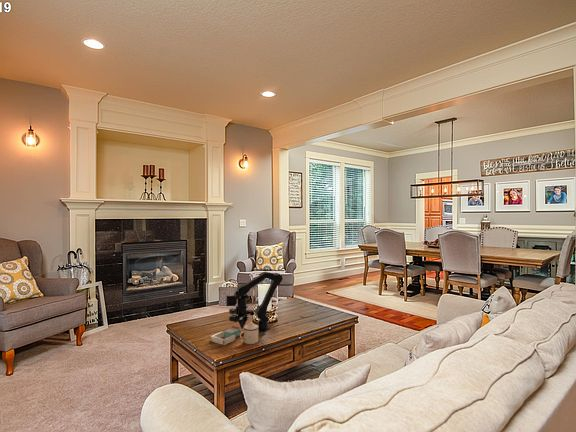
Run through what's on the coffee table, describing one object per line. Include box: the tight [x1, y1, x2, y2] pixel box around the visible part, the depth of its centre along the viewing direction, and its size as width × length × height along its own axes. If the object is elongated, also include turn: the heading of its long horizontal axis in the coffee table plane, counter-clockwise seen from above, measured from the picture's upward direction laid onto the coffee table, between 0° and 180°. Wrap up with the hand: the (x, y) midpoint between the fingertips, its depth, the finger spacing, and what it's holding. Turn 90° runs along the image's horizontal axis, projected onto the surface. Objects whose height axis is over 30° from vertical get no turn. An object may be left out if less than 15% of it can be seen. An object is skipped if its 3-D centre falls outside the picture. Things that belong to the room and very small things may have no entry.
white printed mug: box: [239, 321, 259, 345], centre depth 199 cm, size 12×9×12 cm
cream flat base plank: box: [210, 331, 236, 346], centre depth 202 cm, size 10×11×3 cm
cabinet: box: [223, 325, 241, 339], centre depth 209 cm, size 8×6×5 cm
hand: (242, 328), depth 216 cm, fingers closed
